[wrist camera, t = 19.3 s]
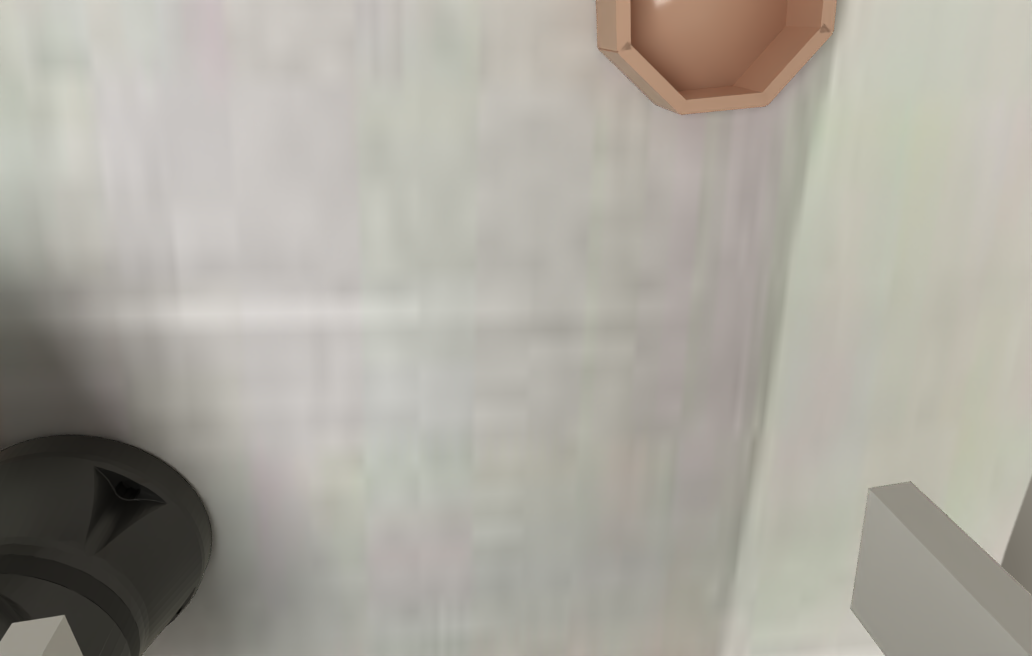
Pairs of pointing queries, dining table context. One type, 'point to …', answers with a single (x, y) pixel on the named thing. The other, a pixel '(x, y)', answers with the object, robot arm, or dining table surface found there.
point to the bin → (712, 48)
